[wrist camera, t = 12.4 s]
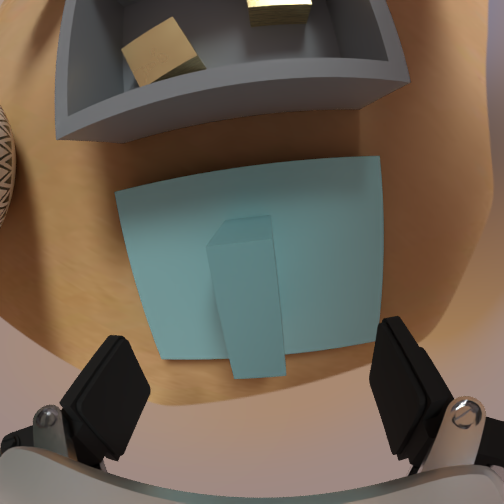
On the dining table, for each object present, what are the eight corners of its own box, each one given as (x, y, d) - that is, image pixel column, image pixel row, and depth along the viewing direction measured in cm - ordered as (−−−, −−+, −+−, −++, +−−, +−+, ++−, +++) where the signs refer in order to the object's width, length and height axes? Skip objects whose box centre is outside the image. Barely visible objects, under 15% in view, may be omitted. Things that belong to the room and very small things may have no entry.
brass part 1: (184, 33, 15) (172, 16, 12) (207, 70, 16) (197, 55, 13) (139, 61, 15) (120, 49, 13) (158, 99, 16) (141, 89, 14)
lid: (368, 156, 18) (426, 154, 10) (368, 326, 23) (401, 389, 15) (128, 188, 20) (62, 205, 12) (169, 344, 24) (138, 406, 16)
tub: (323, -27, 13) (340, -82, 5) (359, 109, 17) (410, 82, 9) (119, 8, 14) (73, -29, 7) (123, 143, 18) (56, 139, 11)
